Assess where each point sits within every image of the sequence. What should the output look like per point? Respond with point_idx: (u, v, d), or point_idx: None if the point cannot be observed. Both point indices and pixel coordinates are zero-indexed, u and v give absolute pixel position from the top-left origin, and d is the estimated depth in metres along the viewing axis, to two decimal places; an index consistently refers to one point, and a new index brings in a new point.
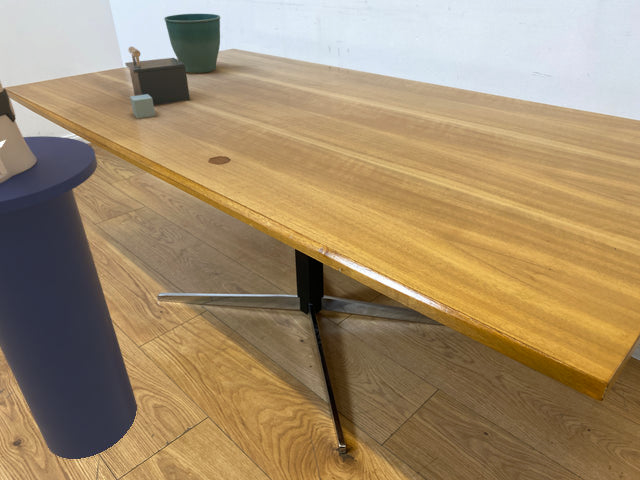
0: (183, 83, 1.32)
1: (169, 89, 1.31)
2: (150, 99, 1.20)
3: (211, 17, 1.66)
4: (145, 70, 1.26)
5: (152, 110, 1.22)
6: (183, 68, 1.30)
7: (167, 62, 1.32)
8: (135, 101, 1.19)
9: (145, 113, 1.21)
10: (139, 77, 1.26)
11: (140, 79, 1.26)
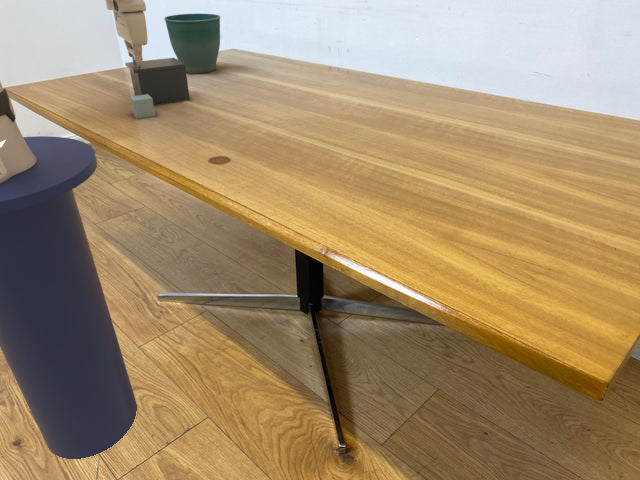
0: (183, 83, 1.32)
1: (169, 89, 1.31)
2: (150, 99, 1.20)
3: (211, 17, 1.66)
4: (145, 70, 1.26)
5: (152, 110, 1.22)
6: (183, 68, 1.30)
7: (167, 62, 1.32)
8: (135, 101, 1.19)
9: (145, 113, 1.21)
10: (139, 77, 1.26)
11: (140, 79, 1.26)
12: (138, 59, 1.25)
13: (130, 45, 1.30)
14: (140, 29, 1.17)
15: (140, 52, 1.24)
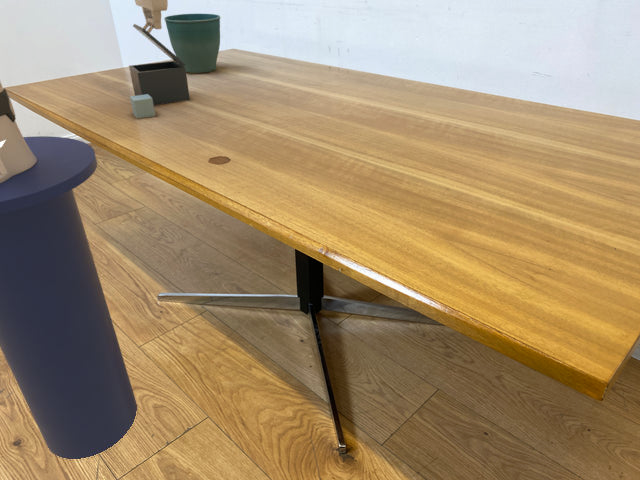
0: (183, 83, 1.32)
1: (169, 89, 1.31)
2: (150, 99, 1.20)
3: (211, 17, 1.66)
4: (152, 38, 1.23)
5: (152, 110, 1.22)
6: (183, 68, 1.30)
7: None
8: (135, 101, 1.19)
9: (145, 113, 1.21)
10: (139, 77, 1.26)
11: (140, 79, 1.26)
12: (157, 26, 1.23)
13: (148, 14, 1.29)
14: None
15: (159, 19, 1.23)
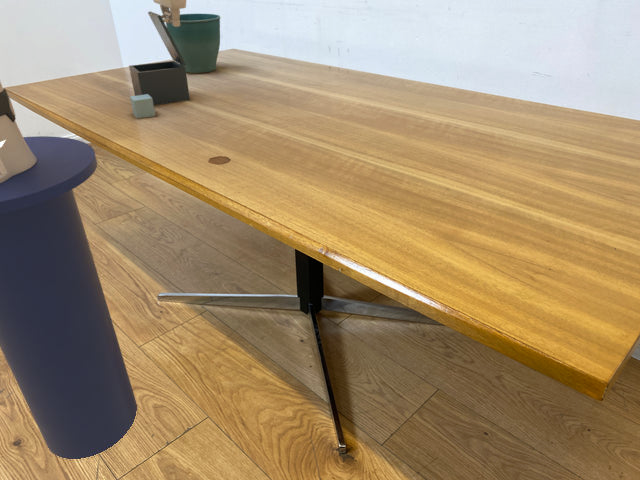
0: (183, 83, 1.32)
1: (169, 89, 1.31)
2: (150, 99, 1.20)
3: (211, 17, 1.66)
4: (164, 27, 1.24)
5: (152, 110, 1.22)
6: (183, 68, 1.30)
7: None
8: (135, 101, 1.19)
9: (145, 113, 1.21)
10: (139, 77, 1.26)
11: (140, 79, 1.26)
12: (176, 24, 1.25)
13: None
14: None
15: (178, 16, 1.24)
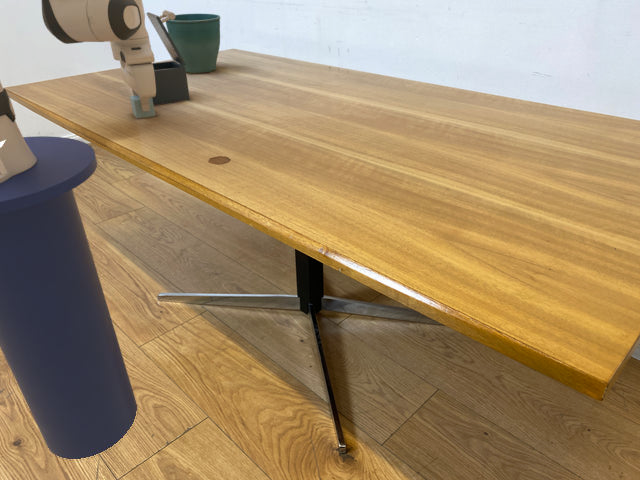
0: (183, 83, 1.32)
1: (169, 89, 1.31)
2: (150, 99, 1.20)
3: (211, 17, 1.66)
4: (163, 28, 1.23)
5: (152, 110, 1.22)
6: (183, 68, 1.30)
7: None
8: (135, 101, 1.19)
9: (145, 113, 1.21)
10: None
11: None
12: (145, 109, 1.19)
13: (138, 93, 1.23)
14: (148, 81, 1.11)
15: (147, 102, 1.18)
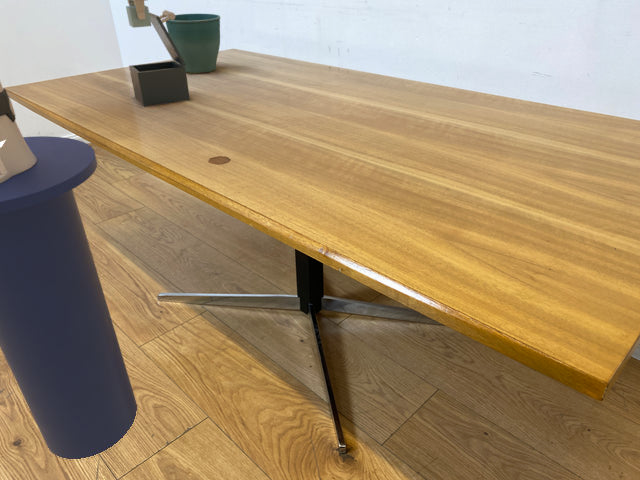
0: (183, 83, 1.32)
1: (169, 89, 1.31)
2: (146, 8, 1.21)
3: (211, 17, 1.66)
4: (163, 28, 1.23)
5: (148, 20, 1.22)
6: (183, 68, 1.30)
7: None
8: (131, 8, 1.19)
9: (141, 22, 1.21)
10: (139, 77, 1.26)
11: (140, 79, 1.26)
12: (140, 17, 1.20)
13: (133, 4, 1.24)
14: None
15: (143, 9, 1.19)
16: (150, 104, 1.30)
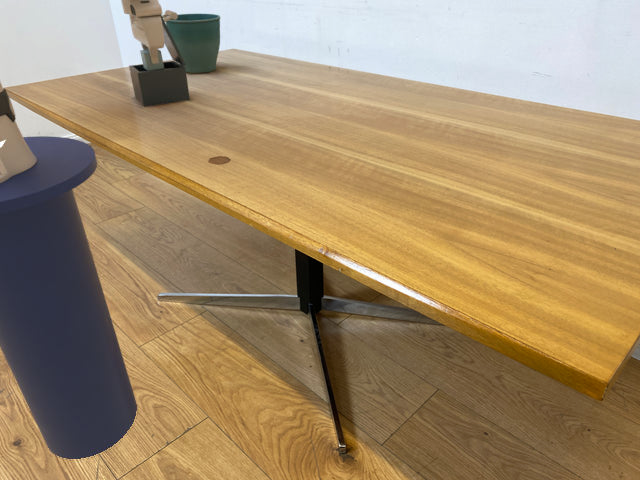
0: (183, 83, 1.32)
1: (169, 89, 1.31)
2: (159, 52, 1.28)
3: (211, 17, 1.66)
4: (165, 27, 1.24)
5: (161, 63, 1.30)
6: (183, 68, 1.30)
7: None
8: (145, 54, 1.27)
9: (155, 66, 1.29)
10: (139, 77, 1.26)
11: (140, 79, 1.26)
12: (154, 61, 1.28)
13: (147, 48, 1.32)
14: (157, 33, 1.19)
15: (156, 54, 1.27)
16: (150, 104, 1.30)
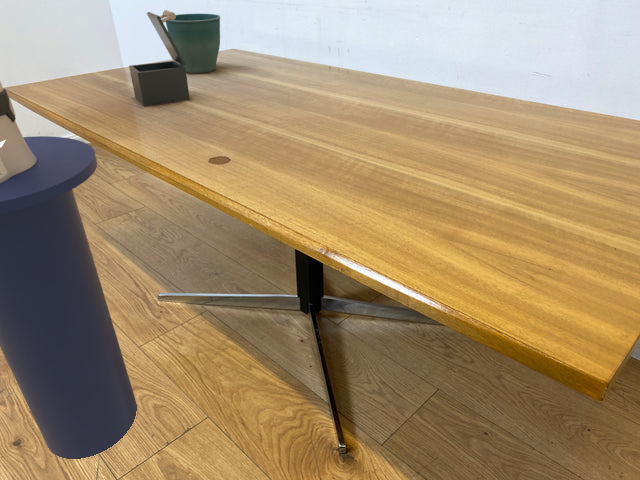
0: (183, 83, 1.32)
1: (169, 89, 1.31)
2: None
3: (211, 17, 1.66)
4: (163, 27, 1.23)
5: None
6: (183, 68, 1.30)
7: None
8: None
9: None
10: (139, 77, 1.26)
11: (140, 79, 1.26)
12: None
13: None
14: None
15: None
16: (150, 104, 1.30)
